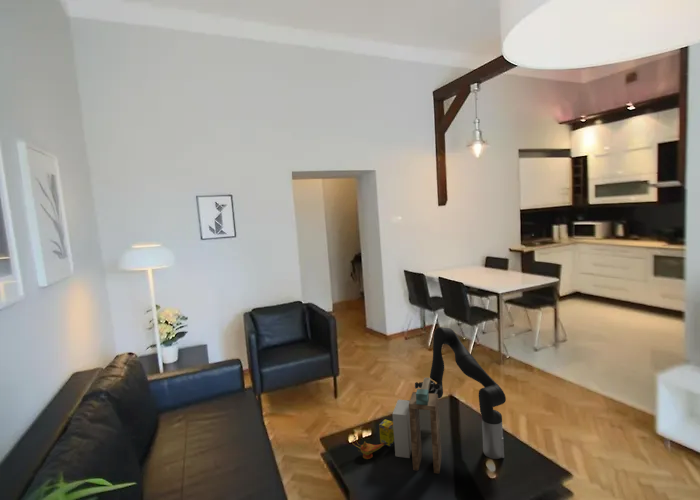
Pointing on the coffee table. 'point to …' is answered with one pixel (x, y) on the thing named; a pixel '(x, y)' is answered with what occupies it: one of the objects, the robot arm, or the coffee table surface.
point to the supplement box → (386, 432)
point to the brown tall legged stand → (416, 433)
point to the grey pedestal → (402, 429)
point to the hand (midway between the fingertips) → (425, 384)
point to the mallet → (423, 393)
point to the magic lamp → (368, 448)
